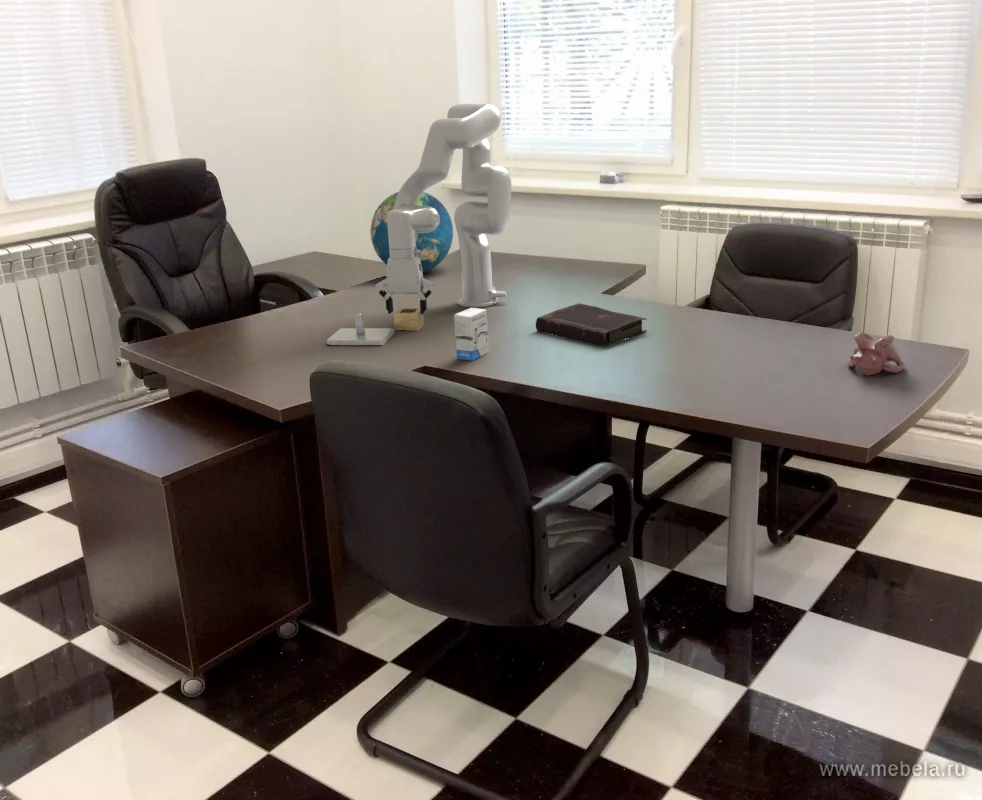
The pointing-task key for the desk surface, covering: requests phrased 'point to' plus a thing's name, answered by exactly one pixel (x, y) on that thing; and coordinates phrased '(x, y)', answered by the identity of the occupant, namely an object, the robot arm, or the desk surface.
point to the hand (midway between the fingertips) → (406, 312)
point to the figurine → (875, 355)
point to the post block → (361, 334)
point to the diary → (590, 324)
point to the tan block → (408, 319)
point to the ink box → (471, 334)
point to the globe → (429, 243)
